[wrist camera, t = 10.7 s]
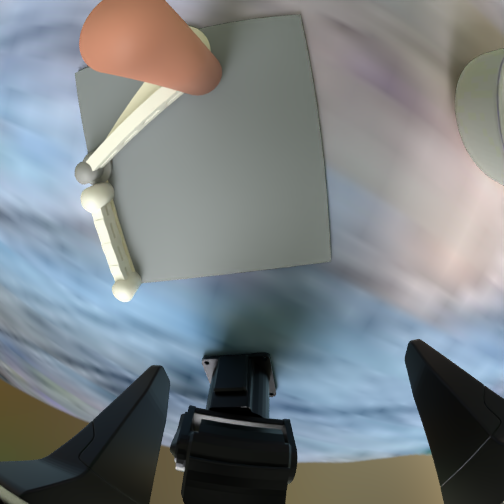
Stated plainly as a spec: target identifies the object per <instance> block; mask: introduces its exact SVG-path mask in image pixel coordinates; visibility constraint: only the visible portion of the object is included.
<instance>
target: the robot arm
mask: <svg viewBox="0 0 504 504" xmlns="http://www.w3.org/2000/svg"><path fill="white" fill-rule="evenodd" d="M207 361H208V362H207ZM405 364H406V368H407V372H408V376H409V380H410V384H411V389H412V393H413V397H414V400H415V403H416V406H417V409H418V412H419V415H420V418H421V421H422V424H423V427H424V430H425V433H426V436H427V440H428V443H429V446H430V450H431V453H432V457H433V460H434V464H435V468H436V471H437V475H438V479H439V483H440V486H441V492H442V496H443V501H444V504H504V398H502V397H500V396H499V395H497V394H496V393H495V392H493V391H492V390H490V389H489V388H488V387H486V386H484V385H483V384H482V383H481V382H479V381H478V380H477V379H475V378H474V377H472V376H471V375H470V374H468V373H467V372H466V371H464V370H463V369H461V368H460V367H459V366H457V365H456V364H454V363H453V362H452V361H450V360H449V359H447V358H446V357H445V356H443V355H442V354H440V353H439V352H438V351H436V350H435V349H433V348H432V347H431V346H429V345H428V344H426V343H425V342H423V341H422V340H420V339H416V340H412V341H410V342H409V343H408V347H407V351H406V355H405ZM202 365H203V367H204V370H205V372H206V375H207V377H208V380H209V382H210V389H209V394H208V400H207V405H206V409H201V408H196V406H191V405H190V406H189V409H188V412H185V414H182V415H181V418H180V422H179V426H178V429H177V432H176V434H175V436H174V439H173V441H172V443H171V446H170V452H171V453H172V455H173V456H174V457H175V462H176V470H177V471H182V472H184V476H183V483H182V490H181V495H182V498H183V502H184V504H285V500H286V490H287V485H288V484H290V483H291V482H292V481H293V479H294V476H295V473H296V467H297V449H296V445H295V440H294V436H293V432H292V427H291V423H290V419H283V420H280V419H269V397H273V396H275V395H276V388H275V382H274V376H273V370H272V365H271V359H270V355H269V354H268V353H255V354H242V355H226V356H206V357H203V359H202ZM169 389H170V381H169V378H168V376H167V374H166V372H165V370H164V368H163V367H162V366H160V365H152V366H150V367H149V368H148V369H147V370H146V371H145V372H144V373H143V374H142V375H141V376H140V377H139V378H138V379H136V380H135V381H134V382H133V383H132V384H131V385H130V386H129V387H128V388H127V389H126V390H125V391H124V392H123V393H122V394H120V395H119V396H118V397H117V398H116V399H115V400H114V401H113V402H112V403H111V404H110V405H109V406H108V407H107V408H105V409H104V410H103V411H102V412H101V413H100V414H99V415H98V416H97V417H96V418H95V419H94V420H93V421H91V422H90V423H89V424H88V425H87V426H86V427H85V428H84V429H83V430H81V431H80V432H79V433H78V434H77V435H75V436H74V437H73V438H72V439H70V440H69V441H68V442H66V443H65V444H64V445H62V446H61V447H60V448H58V449H57V450H56V451H54V452H53V453H51V454H50V455H49V456H47V457H45V458H42V459H38V460H30V461H9V462H0V486H1V487H0V504H149V502H150V496H151V491H152V486H153V481H154V475H155V471H156V466H157V461H158V456H159V451H160V446H161V442H162V437H163V432H164V428H165V423H166V417H167V408H168V399H169Z"/></svg>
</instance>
